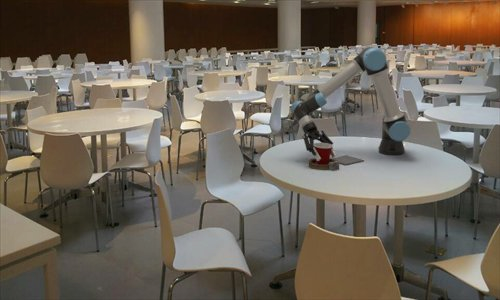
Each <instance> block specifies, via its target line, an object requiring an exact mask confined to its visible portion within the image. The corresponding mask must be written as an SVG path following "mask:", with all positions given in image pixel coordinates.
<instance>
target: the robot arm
mask: <svg viewBox="0 0 500 300" xmlns="http://www.w3.org/2000/svg"><path fill="white" fill-rule="evenodd" d="M388 69H389V66H388V62H387V55H386V53H385V52H384V50H382V49H381V48H379V47H373V46H369V47H366V48H365V49H363V50H362V51H361V52H360V53H359V54H357V55H356V56H355V57H354V58H352V62H350V63H349V64H347V65H346V66H345V67H344V68H342V69H341V70H340V71H338V72H337V73H336V74H335V75H333V76H332V77H330V79H328V80H327V81H325V82H324V83H323V84H322V85H320V86H319V87H318V88H316V89H315V90H314V91H312V92H310V93H309V94H308V96H307V99H306V100H304V101H302V100H297V101H294V102H293V103H292V104H291V106H290V110H291V111H292V113H293V115H294V117H295V119H296V120H297V122H298V124H299V126H300V128H301V129H302V131H303V133H304V134H303V135H302V137H301V138H302V139H303V141H304V145H305V150H306V151H307V152H309V153H311V154H312V156H313V157H315V158H316V160H317V161H319V160H320V159H321V158H320V156H319V154H318V152H317V151H316V149H314V141H319V143H328V144H331V145H333V146H334V142H333V141H332V140H331V139H330V138H329V137H328V135H327V134H326V133H325V131H324V130H320V131H319V130H318V127H317V124H316V123H315V121H314V120H313V118H312V116H311V115H310V114H312V113H314V112H315V111H317V110H319V109H320V108H323V107H324V106H325V105H326V104H328V102H327V100H326V99H327V98H329V97H330V96H332V94H334V93H335V92H337V90H339V89H341V88H342V87H343V86H344V85H346V84H347V83H349V81H351V80H352V79H354V78H355V77H356V76H357V75H359V74H360V73H364V72H366V75H367V76H368V77H370V78H371V80H372V83H373V85H374V88H375V91H376V95H377V98H378V100H379V103H380V106H381V109H382V112H383V115H382V128H381V140H380V143H379V146H378V153H380V154H382V155H386V156H387V155H388V156H390V155H391V156H397V155H403V154H405V152H406V149H405V145H404V141H405V140H406V139H408V138H409V137H410V135H411V126H410V124H409V123H408V122H407V121H408V120H407V118H406V116H405V114H404V113H403V112H402V111H400V108H399V104H398V101H397V98H396V96H395V93H394V90H393V87H392V84H391V80H390V79H389V76H388ZM336 155H337V154H336V152H335V150H334V148H333V147H332V149H331V153H330V157H331V158H336V157H337V156H336ZM315 158H314V159H315Z"/></svg>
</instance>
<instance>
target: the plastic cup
mask: <svg viewBox="0 0 500 300" xmlns="http://www.w3.org/2000/svg"><path fill="white" fill-rule="evenodd" d="M333 147H334V144H333V145H331V144H328V143H321V142H315V143H314V149H316V151H317V152H318V154H319V156H320V158H321V159H320V160H319V161H317V160H316V161H317V163H316V164H319V165H328V164H329V159H331V158H330V157H331V155H330V153H331V149H332V148H333Z"/></svg>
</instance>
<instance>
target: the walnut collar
mask: <svg viewBox="0 0 500 300" xmlns="http://www.w3.org/2000/svg"><path fill="white" fill-rule="evenodd" d="M308 168H310V169H313V170H319V171H326V170H327V171H332V172H333V171H337V170H340V164H339V162H338V161H337V160H334V159H331V158H330V159H329V163H328V165H319V164H317V161H316V158H311V159H309V160H308Z"/></svg>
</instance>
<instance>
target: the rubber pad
mask: <svg viewBox="0 0 500 300" xmlns="http://www.w3.org/2000/svg"><path fill="white" fill-rule="evenodd" d="M330 159H334V160H337V161H338V162H339V165H343V166H350V165H354V164H359V163H363V162H365V159H362V158H358V157H354V156H351V155H347V154H345V155H341V156H335V157H334V158H332V157H331V158H330Z"/></svg>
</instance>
